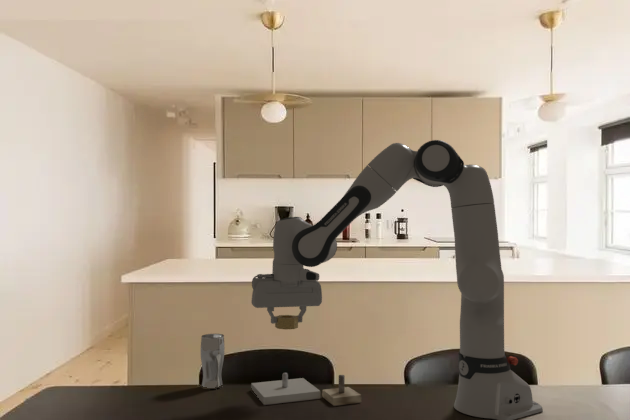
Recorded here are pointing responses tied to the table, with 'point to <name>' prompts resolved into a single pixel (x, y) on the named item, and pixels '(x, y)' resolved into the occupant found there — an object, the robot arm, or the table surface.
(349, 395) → the stand
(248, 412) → the table surface
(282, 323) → the collar
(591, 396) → the table surface
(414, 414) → the table surface
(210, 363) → the beer glass
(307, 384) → the block
